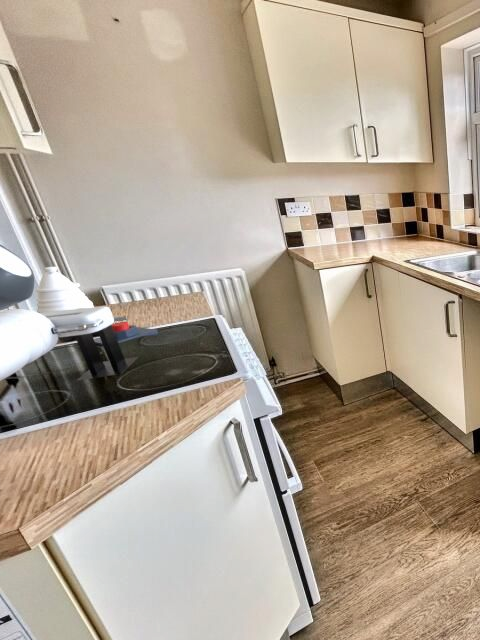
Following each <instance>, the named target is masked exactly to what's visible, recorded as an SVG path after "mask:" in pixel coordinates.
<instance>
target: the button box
mask: <svg viewBox="0 0 480 640" xmlns="http://www.w3.org/2000/svg"><path fill="white" fill-rule="evenodd" d="M129 327H130V329H127V330H123V331H117V332H114V333H115V336H116V338H117V341H118V344H120V343H124V342H128V341H130V340H134V339H138V338H141V337H146V336H154V335H159V331H158V329H156V328H149V327H141V326H137V325H134V324H131V325H130V324H129ZM93 339H94V341H95V343H96V345H100V346H103V344H102V341H101V339H100V337H97V338H93Z"/></svg>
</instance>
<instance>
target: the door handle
mask: <svg viewBox="0 0 480 640" xmlns="http://www.w3.org/2000/svg"><path fill="white" fill-rule="evenodd" d="M113 318H114V322H115V321H123V320H127V321H128V319H127V316H126V315H124V316H117V317H113ZM91 334H92V336H93V337H95V336H94V335H98V336H99V334H98V332H94V333H91ZM71 340H76V338H75V336H68V337H60V338H58V341H61V342H70V341H71Z"/></svg>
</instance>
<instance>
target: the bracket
mask: <svg viewBox="0 0 480 640" xmlns="http://www.w3.org/2000/svg"><path fill="white" fill-rule="evenodd" d="M97 332H98V334H99V335H98V337H99V338H100V339H101V341H102V344H103V345H102V346H103V349H104V351H105V354H106V356H107V358H108V360H106V361H104V360H103V358H102V356H101V353H100V351H99V348H98V346H97V344H96V343H95V341H94V339H95V338H94V336H92V334H91V333H90V334H84V335H76V336H75V338H76V339H75V340H76V342H77V344H78V347H79V349H80V352H81V354H82V356H83V358H84V360H85V363H86V366H87V368H88V370H87V371H86V372H85V373H83V374H82V375H81V376H80V377H78V378H77V379H75V382H79V381H85V380H92V379H98V378H99V379H100V378H104V377H110V376H119V375H122V374H123V373H124V372H125V371H126V370H127V369H128V368H129V367H130V366H131V365H133V363H135V361H136V360H137V359H138V358H139V356H133V357H127V358H125V356H124V354H123V351H122V349H121V346H120V343H118V341H117V338H116V336H115V333H114V331H113V328H112V326H111V325H110V326H108V327H106V328H104V329H102V330H100V331H97Z"/></svg>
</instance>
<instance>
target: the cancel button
mask: <svg viewBox="0 0 480 640" xmlns="http://www.w3.org/2000/svg"><path fill="white" fill-rule="evenodd" d="M129 325H130V324H129V322H128V321H127V322H120V323H115V324H112V325H111V326H112V328H113V331H114V332H117V331H123V330H127V329H130V327H129Z"/></svg>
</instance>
